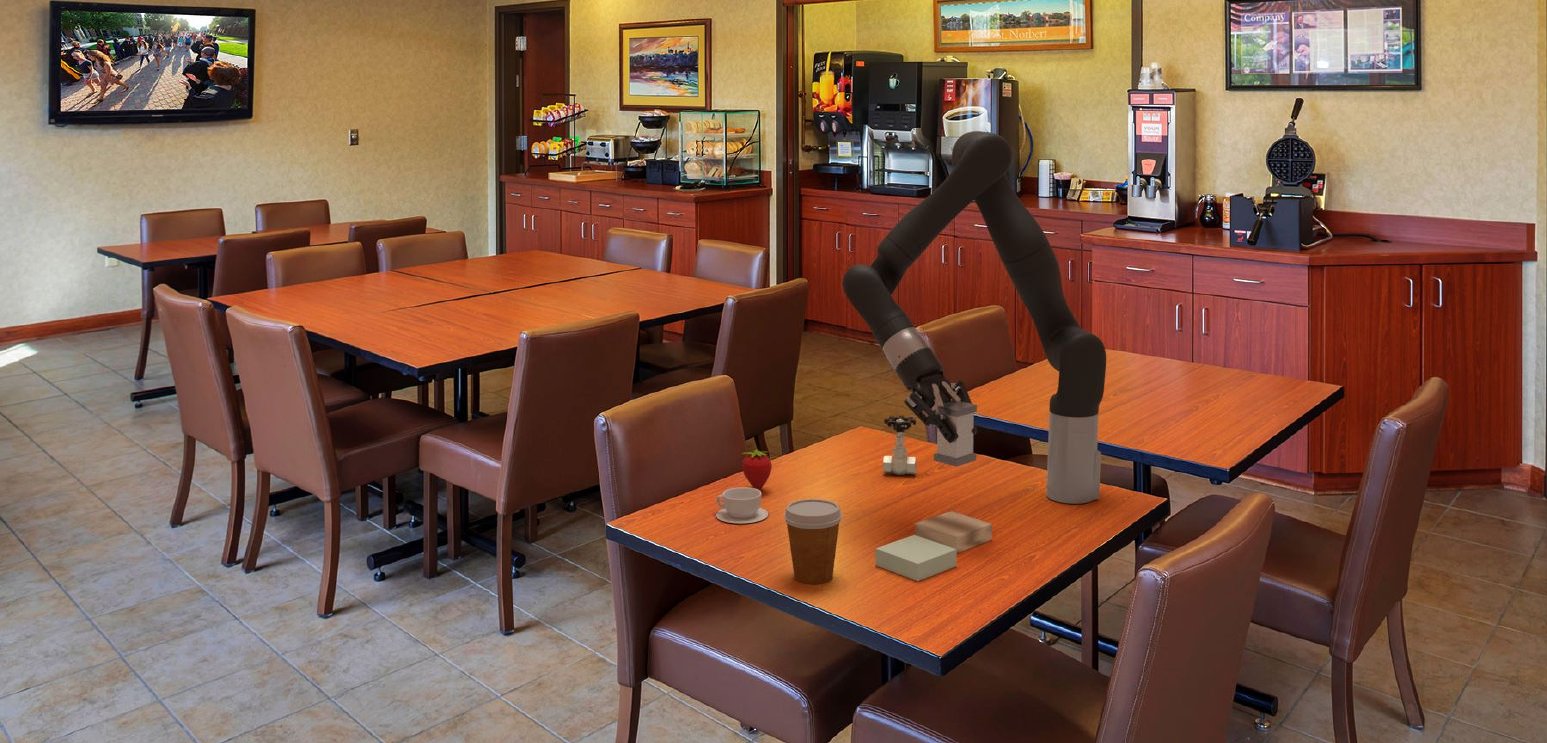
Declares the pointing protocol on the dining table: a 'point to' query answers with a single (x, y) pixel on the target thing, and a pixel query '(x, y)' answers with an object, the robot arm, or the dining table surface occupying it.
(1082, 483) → the robot arm
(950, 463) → the grey square pillar
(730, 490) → the teacup
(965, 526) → the stand
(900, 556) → the stand
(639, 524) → the dining table surface
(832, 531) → the disposable coffee cup
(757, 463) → the strawberry
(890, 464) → the valve
